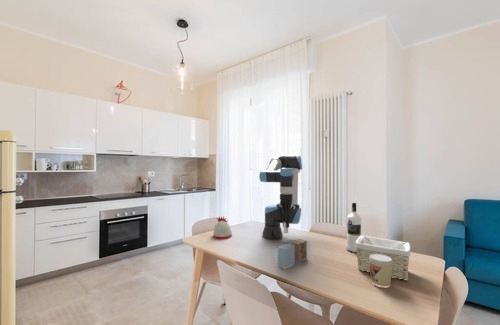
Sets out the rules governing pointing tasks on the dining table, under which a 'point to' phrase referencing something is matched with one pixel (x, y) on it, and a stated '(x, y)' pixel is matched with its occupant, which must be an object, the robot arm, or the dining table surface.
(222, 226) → the beanie hat
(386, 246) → the storage basket
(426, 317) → the dining table surface
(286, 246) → the slate block
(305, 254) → the walnut block
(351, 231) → the vodka
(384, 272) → the coffee cup
